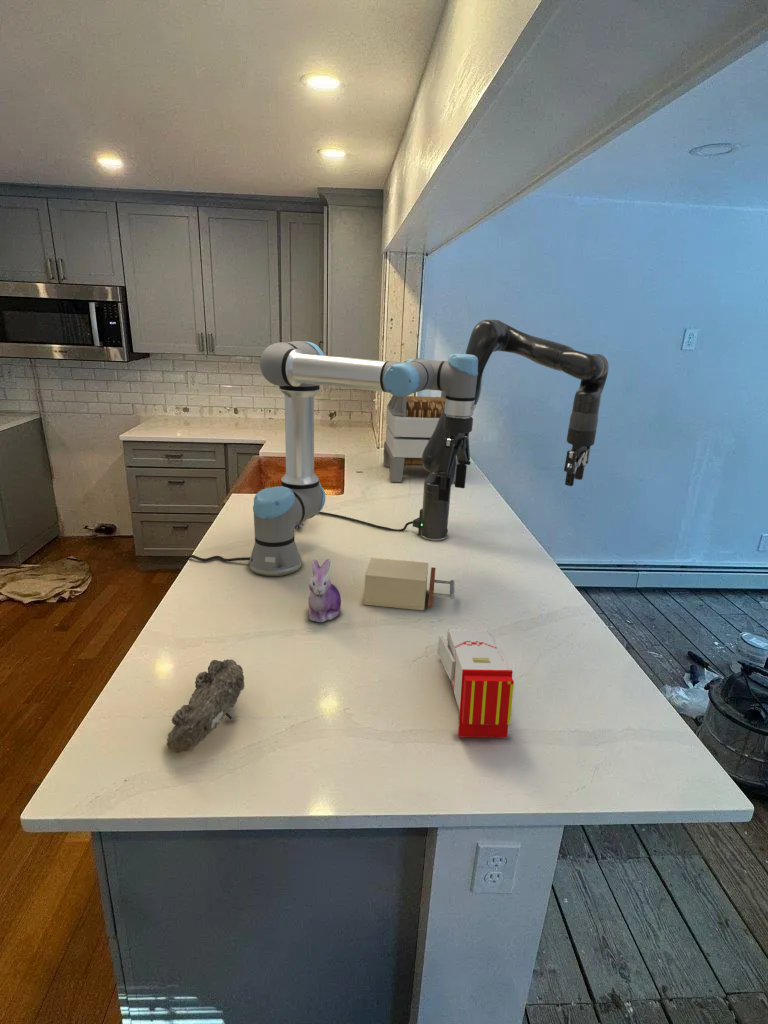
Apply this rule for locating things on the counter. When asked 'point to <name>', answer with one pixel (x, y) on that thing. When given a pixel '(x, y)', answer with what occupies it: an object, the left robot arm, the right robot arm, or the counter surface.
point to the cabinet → (396, 583)
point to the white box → (410, 431)
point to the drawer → (431, 593)
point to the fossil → (206, 705)
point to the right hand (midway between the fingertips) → (573, 482)
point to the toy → (478, 682)
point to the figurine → (323, 594)
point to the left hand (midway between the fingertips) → (451, 493)
